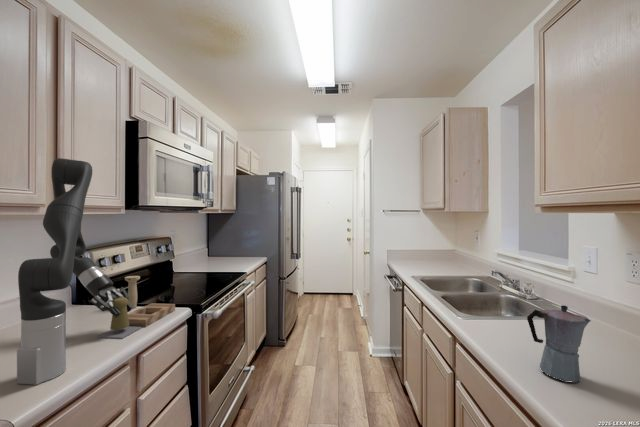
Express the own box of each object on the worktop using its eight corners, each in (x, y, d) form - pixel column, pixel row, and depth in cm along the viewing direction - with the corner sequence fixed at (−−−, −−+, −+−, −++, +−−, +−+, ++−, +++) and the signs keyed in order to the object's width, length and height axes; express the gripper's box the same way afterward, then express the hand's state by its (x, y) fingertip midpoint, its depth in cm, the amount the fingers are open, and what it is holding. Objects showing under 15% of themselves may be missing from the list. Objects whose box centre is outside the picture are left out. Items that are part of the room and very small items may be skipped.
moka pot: (602, 388, 76) (603, 312, 76) (538, 382, 79) (538, 309, 79) (576, 368, 86) (577, 301, 85) (519, 364, 88) (520, 298, 88)
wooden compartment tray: (145, 327, 116) (145, 319, 116) (118, 326, 117) (118, 318, 117) (175, 310, 136) (175, 304, 136) (151, 309, 137) (151, 303, 137)
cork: (107, 330, 107) (107, 301, 107) (114, 324, 113) (114, 296, 113) (125, 328, 109) (126, 300, 109) (131, 322, 115) (131, 295, 115)
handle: (129, 306, 143) (129, 275, 143) (142, 305, 143) (142, 275, 143) (122, 309, 138) (122, 278, 138) (136, 309, 138) (136, 277, 138)
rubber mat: (122, 338, 106) (122, 337, 106) (97, 337, 106) (97, 336, 106) (141, 328, 116) (141, 326, 116) (118, 327, 116) (118, 325, 116)
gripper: (85, 278, 104) (116, 312, 103) (116, 270, 119) (144, 300, 118) (72, 292, 105) (102, 327, 104) (104, 283, 119) (132, 313, 118)
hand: (124, 312), depth 111 cm, fingers closed on cork, 5 cm apart
